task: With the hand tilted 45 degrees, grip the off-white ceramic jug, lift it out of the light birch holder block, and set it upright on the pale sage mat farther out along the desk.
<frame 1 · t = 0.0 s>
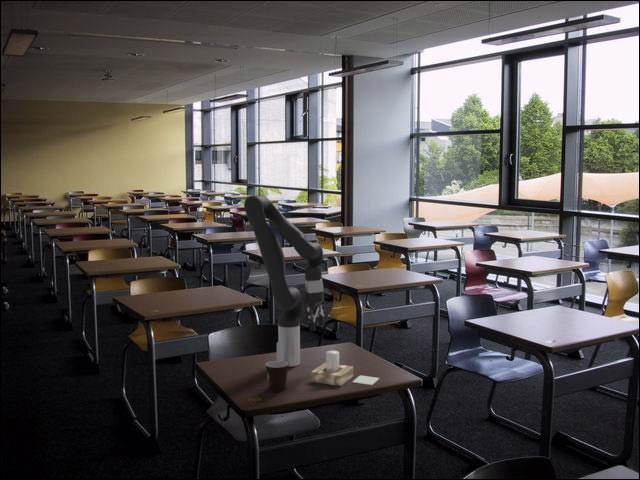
hand: (317, 328, 270), 17 cm above the table, tool pointing down, fingers open, 8 cm apart
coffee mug: (278, 388, 249), on the table
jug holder: (332, 378, 259), on the table
jug: (331, 366, 257), in the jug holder
mat: (365, 380, 256), on the table
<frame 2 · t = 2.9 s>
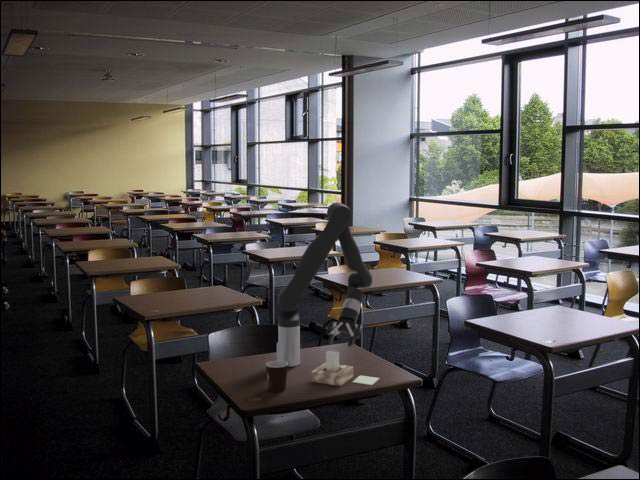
hand: (339, 344, 263), 12 cm above the table, tool tilted 45°, fingers open, 8 cm apart
nothing on the table moved.
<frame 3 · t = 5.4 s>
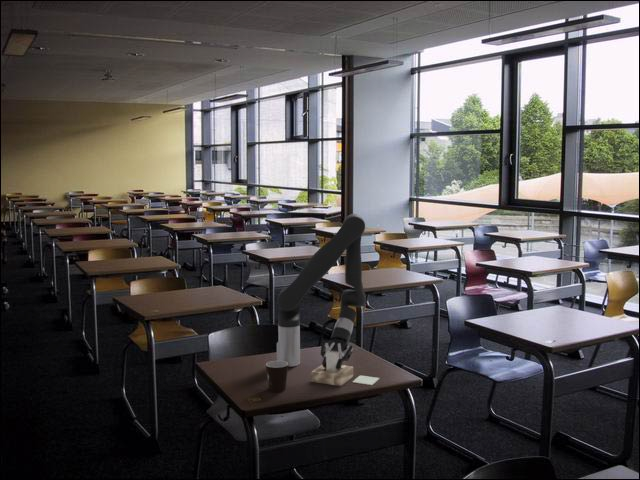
hand: (330, 367, 256), 5 cm above the table, tool tilted 45°, fingers closed on jug, 5 cm apart
jug: (331, 366, 257), in the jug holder, touching gripper
everything else where it was.
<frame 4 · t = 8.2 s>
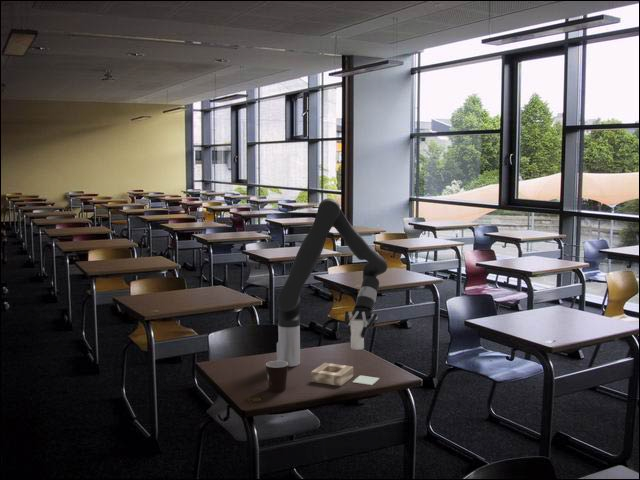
hand: (355, 336, 253), 19 cm above the table, tool tilted 45°, fingers closed on jug, 5 cm apart
jug: (356, 334, 254), point 19 cm above the table, touching gripper
everything else where it was.
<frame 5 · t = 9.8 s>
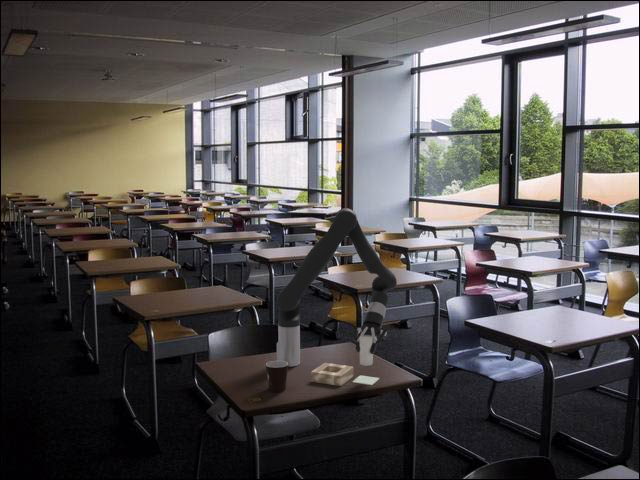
hand: (364, 352, 253), 12 cm above the table, tool tilted 45°, fingers closed on jug, 5 cm apart
jug: (365, 350, 254), point 12 cm above the table, touching gripper
everything else where it was.
when the fingers open (6 cm above the table, at t = 11.3 s): jug stays where it is, resting on mat.
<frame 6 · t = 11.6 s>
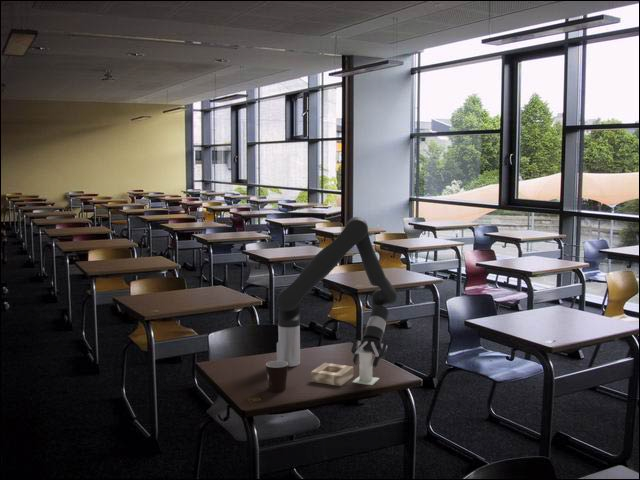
hand: (364, 365, 254), 7 cm above the table, tool tilted 45°, fingers open, 7 cm apart
jug: (364, 367, 255), resting on mat
everything else where it was.
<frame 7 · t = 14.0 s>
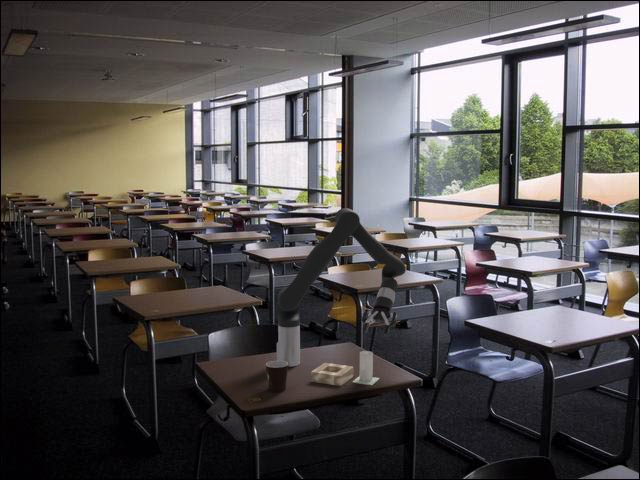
hand: (375, 333, 264), 17 cm above the table, tool tilted 45°, fingers open, 8 cm apart
nothing on the table moved.
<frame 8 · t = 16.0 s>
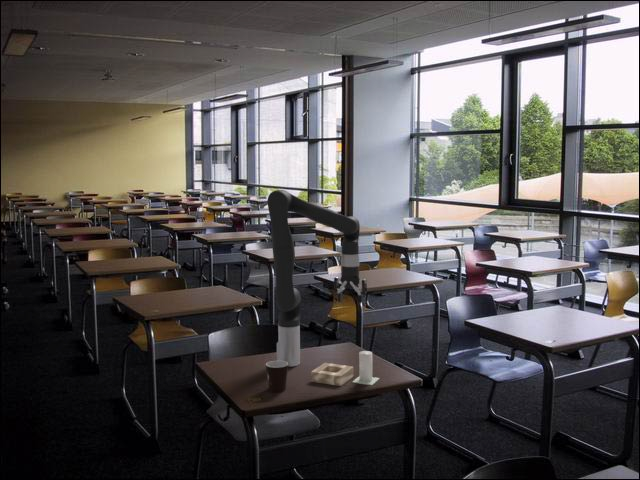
hand: (350, 302, 269), 28 cm above the table, tool pointing down, fingers open, 8 cm apart
nothing on the table moved.
at the end: jug inside the target area (0.1 cm from its centre), resting on mat; jug tilted 2°; the gripper is holding nothing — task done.
